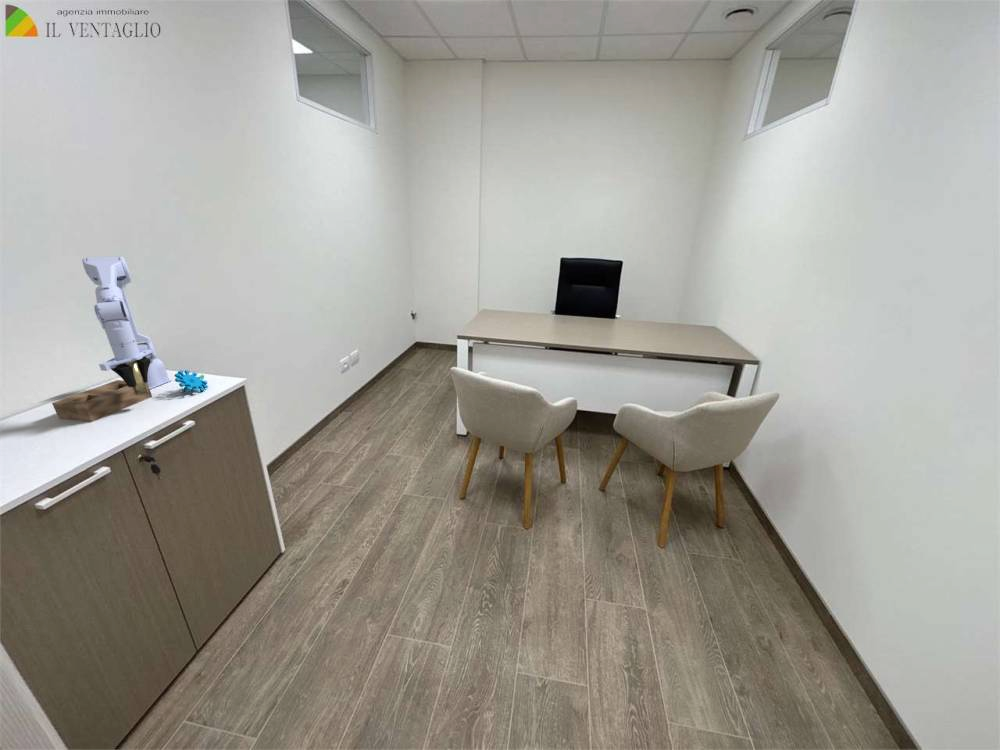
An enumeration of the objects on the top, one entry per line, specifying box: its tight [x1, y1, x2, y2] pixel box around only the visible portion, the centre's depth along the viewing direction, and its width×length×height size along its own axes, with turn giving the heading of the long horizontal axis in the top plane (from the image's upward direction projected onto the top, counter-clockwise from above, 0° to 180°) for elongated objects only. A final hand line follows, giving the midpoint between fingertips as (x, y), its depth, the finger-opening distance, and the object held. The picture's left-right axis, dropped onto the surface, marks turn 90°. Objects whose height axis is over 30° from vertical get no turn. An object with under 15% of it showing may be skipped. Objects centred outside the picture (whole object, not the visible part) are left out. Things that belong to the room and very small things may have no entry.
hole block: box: [51, 379, 153, 423], centre depth 124 cm, size 18×12×5 cm, turn 170°
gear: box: [174, 369, 209, 394], centre depth 136 cm, size 11×6×10 cm
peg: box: [126, 361, 148, 395], centre depth 121 cm, size 3×3×10 cm
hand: (138, 384), depth 122 cm, fingers closed on peg, 3 cm apart
